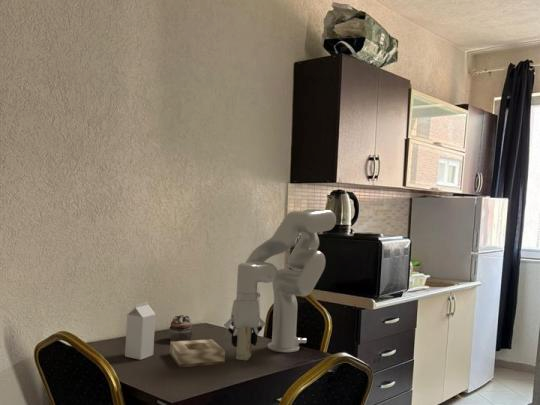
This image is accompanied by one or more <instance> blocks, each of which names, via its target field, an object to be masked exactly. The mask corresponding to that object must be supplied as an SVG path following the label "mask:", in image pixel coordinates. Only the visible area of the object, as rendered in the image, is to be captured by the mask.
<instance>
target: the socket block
mask: <svg viewBox="0 0 540 405" xmlns="http://www.w3.org/2000/svg"><path fill="white" fill-rule="evenodd" d="M169 343H170V344H169V355H170V357H172V359H173V361H174V362H175V364H176V365H177V366H178V367H179V368H190V367H201V366H202V367H203V366H204V367H205V366H213V365H214V366H216V365H225V363H226V362H225V361H226V360H225V359H226V350H225V349H223V347H222V346H220V345H219V344H218V343H217V342H216V341H215V340H214V339H211V338H209V339H194V340H191V339H190V341H174V342H172V341H170V342H169Z"/></svg>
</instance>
